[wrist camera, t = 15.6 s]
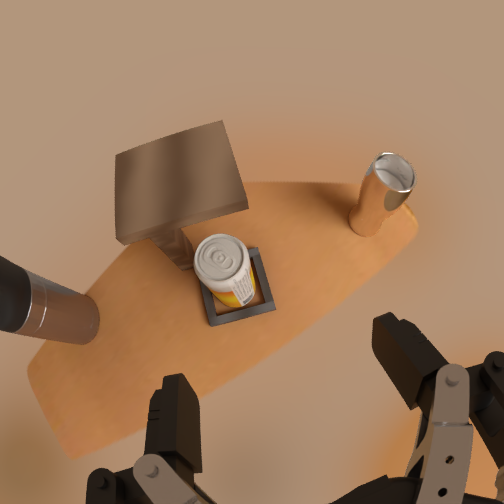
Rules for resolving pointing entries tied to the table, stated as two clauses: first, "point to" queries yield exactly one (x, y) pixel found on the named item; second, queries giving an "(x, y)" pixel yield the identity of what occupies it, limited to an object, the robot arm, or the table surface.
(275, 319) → the table surface
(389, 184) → the beer glass
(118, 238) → the overhang bracket
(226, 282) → the beer can
